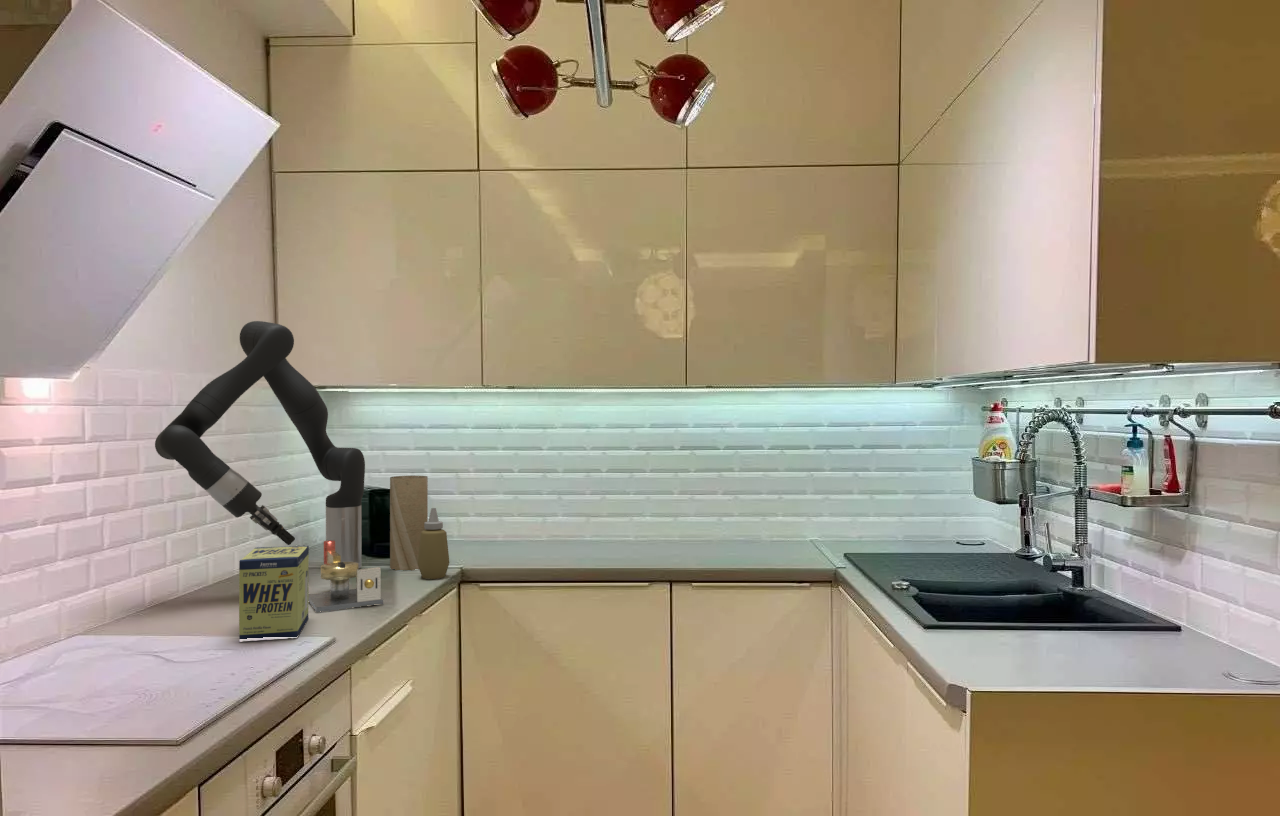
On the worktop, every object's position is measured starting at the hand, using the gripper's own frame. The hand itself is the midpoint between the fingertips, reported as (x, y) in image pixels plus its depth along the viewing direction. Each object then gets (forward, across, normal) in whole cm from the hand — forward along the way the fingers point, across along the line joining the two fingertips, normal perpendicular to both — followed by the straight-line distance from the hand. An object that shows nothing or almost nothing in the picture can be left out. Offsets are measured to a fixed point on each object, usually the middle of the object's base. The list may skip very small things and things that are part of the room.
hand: (291, 541), depth 188 cm
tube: (+32, +19, -14) cm, 40 cm away
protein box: (+4, -31, +14) cm, 34 cm away
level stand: (+16, -14, +2) cm, 21 cm away
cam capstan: (+11, -9, -1) cm, 14 cm away
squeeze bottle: (+33, +2, -15) cm, 37 cm away
